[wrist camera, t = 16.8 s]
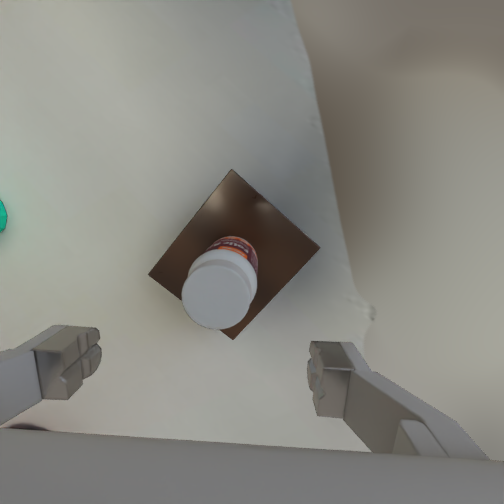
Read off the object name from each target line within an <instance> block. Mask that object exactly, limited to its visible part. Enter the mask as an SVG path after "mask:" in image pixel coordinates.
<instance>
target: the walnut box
mask: <svg viewBox="0 0 504 504" xmlns="http://www.w3.org/2000/svg"><path fill="white" fill-rule="evenodd" d="M228 236H235V237H239V238H242V239H244V240H246V241H247V242H248V243H249V244H250V245H251V246H252V247H253V248H254V250H255V252H256V255H257V260H258V270H257V290H256V294H255V296H254V298H253V300H252V302H251V303H250V306H249V309H248V311H247V313H246V315H245V316H244V318H243V319H242V320H241V321H240V322H238V323H237V324H236V325H234V326H232V327H229V328H226V329H219V330H220V331H222V332H223V333H224V334H225V335H227V336H228V337H229V338H231V339H232V340H234V339H235V338H236V337H237V335H238V334H239V333H240V332H241V331H242V330H243V329H244V328H245V327H246V326H247V325H248V324H249V323H250V322H251V321H252V320H253V319H254V318H255V316H256V315H257V314H258V313H259V312H260V311H261V310H262V309H263V308H264V307H265V306H266V305H267V304H268V303H269V302H270V301H271V300H272V299H273V298H274V296H275V295H276V294H277V293H278V292H279V291H280V290H281V289H282V288H283V287H284V286H285V285H286V284H287V283H288V282H289V281H290V280H291V279H292V278H293V276H294V275H295V274H296V273H297V272H298V271H299V270H300V269H301V268H302V267H303V266H304V265H305V264H306V263H307V262H308V261H309V260H310V259H311V257H312V256H313V255H314V254H315V253H316V252H317V251H318V250H319V249H320V247H319V246H318V245H317V244H316V243H315V242H314V241H313V240H311V239H310V238H309V237H308V236H307V235H306V234H305V233H303V232H302V231H301V230H300V229H299V228H298V227H297V226H296V225H294V224H293V223H292V222H291V221H290V220H289V219H288V218H287V217H285V216H284V215H283V214H282V213H281V212H280V211H279V210H278V209H276V208H275V207H274V206H273V205H272V204H271V203H270V202H268V201H267V200H266V199H265V198H264V197H263V196H262V195H261V194H259V193H258V192H257V191H256V190H255V189H254V188H253V187H252V186H250V185H249V184H248V183H247V182H246V181H245V180H244V179H243V178H241V177H240V176H239V175H238V174H237V173H236V172H235V171H233V170H232V169H231V170H230V171H229V173H228V174H227V175H226V176H225V178H224V179H223V180H222V182H221V183H220V184H219V185H218V187H217V188H216V189H215V190H214V192H213V193H212V194H211V195H210V197H209V198H208V199H207V200H206V202H205V203H204V204H203V206H202V207H201V208H200V209H199V211H198V212H197V213H196V214H195V216H194V217H193V218H192V219H191V221H190V222H189V223H188V224H187V226H186V227H185V228H184V230H183V231H182V232H181V233H180V235H179V236H178V237H177V238H176V240H175V241H174V242H173V243H172V245H171V246H170V247H169V248H168V250H167V251H166V252H165V254H164V255H163V256H162V257H161V259H160V260H159V261H158V262H157V264H156V265H155V266H154V267H153V269H152V270H151V271H150V272H149V274H148V275H149V276H150V277H152V278H153V279H154V280H155V281H157V282H158V283H159V284H161V285H162V286H163V287H164V288H166V289H167V290H168V291H170V292H171V293H172V294H174V295H175V296H176V297H177V298H179V299H180V300H181V301H182V288H183V285H184V283H185V281H186V279H187V278H188V273H189V270H190V268H191V266H192V264H193V262H194V261H195V260H196V259H197V258H198V257H199V256H200V255H201V254H202V253H204V252H205V251H206V250H207V249H208V248H209V247H210V246H211V245H212V244H213V243H214V242H215V241H217V240H219V239H221V238H223V237H228Z"/></svg>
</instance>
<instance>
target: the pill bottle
mask: <svg viewBox="0 0 504 504" xmlns="http://www.w3.org/2000/svg"><path fill="white" fill-rule="evenodd" d="M257 270H258V260H257V255H256V252H255V250H254V248H253V247H252V246H251V245H250V244H249V243H248V242H247V241H246V240H244V239H242V238H239V237H235V236H228V237H223V238H221V239H219V240H217V241H215V242H214V243H213V244H212V245H211V246H210V247H209V248H208V249H207V250H206V251H205V252H204V253H202V254H201V255H200V256H199V257H198V258H197V259H196V260H195V261H194V262H193V264H192V266H191V268H190V270H189V273H188V278H187V279H186V281H185V283H184V285H183V288H182V303H183V307H184V309H185V311H186V313H187V314H188V315H189V317H190V318H191V319H192V320H193V321H194V322H196V323H197V324H199V325H200V326H202V327H205V328H209V329H216V330H219V329H226V328H229V327H232V326H234V325H236V324H237V323H238V322H240V321H241V320H242V319H243V318H244V316H245V315H246V313H247V311H248V309H249V306H250V303H251V302H252V300H253V298H254V296H255V294H256V290H257Z"/></svg>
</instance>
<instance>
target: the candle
mask: <svg viewBox="0 0 504 504" xmlns="http://www.w3.org/2000/svg"><path fill="white" fill-rule="evenodd" d="M6 220H7V214H6V211H5V208H4V205H3V203H2V202H1V201H0V232H1V231H2V230H3V229H4V228H5V226H6Z"/></svg>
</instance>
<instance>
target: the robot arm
mask: <svg viewBox="0 0 504 504" xmlns="http://www.w3.org/2000/svg"><path fill="white" fill-rule="evenodd" d="M99 339H100V333H99V330H98V329H97V328H93V327H81V326H69V325H53V326H51V327H50V328H48V329H47V330H45V331H43V332H42V333H40V334H38V335H37V336H35V337H33V338H32V339H30V340H28V341H27V342H25V343H24V344H22V345H20V346H19V347H17V348H15V349H8V350H5V351H2V352H0V425H2V424H3V423H5V422H7V421H8V420H10V419H12V418H13V417H15V416H17V415H18V414H20V413H22V412H24V411H25V410H27V409H29V408H30V407H32V406H34V405H35V404H37V403H39V402H40V401H42V399H52V400H68V399H69V398H70V397H71V396H72V395H73V394H74V393H75V392H76V391H77V390H78V389H79V388H80V387H81V386H82V385H83V379H85V378H87V377H89V376H91V375H92V374H93V373H94V372H95V371H96V370H97V368H98V366H99V364H100V362H101V357H102V351H101V348H100V346H99V345H98V344H97V342H98V341H99ZM309 352H310V355H311V359H310V360H309V361H308V366H307V378H308V384H309V388H310V390H311V391H313V403H314V406H315V410H316V413H317V416H322V417H332V418H343V420H344V421H345V422H346V424H347V425H348V426H349V427H350V428H351V429H352V430H353V431H354V432H355V434H356V435H357V436H358V437H359V438H360V439H361V440H362V441H363V442H364V443H365V445H366V446H367V447H368V448H369V449H370V450H371V451H372V452H358V451H343V450H326V449H311V448H296V447H281V446H266V445H251V444H236V443H222V442H207V441H192V440H177V439H161V438H146V437H130V436H115V435H99V434H84V433H69V432H54V431H39V430H24V429H9V428H0V504H504V461H494V460H490V459H489V458H488V457H487V456H486V454H485V453H484V452H483V451H482V450H481V449H480V448H479V446H478V445H477V444H476V443H475V442H474V441H473V440H472V439H471V437H470V436H469V435H468V434H467V433H466V432H465V431H464V430H463V428H462V427H461V426H460V425H459V424H458V423H457V422H456V421H455V420H453V419H451V418H450V417H448V416H446V415H445V414H443V413H442V412H440V411H439V410H437V409H435V408H433V407H432V406H431V405H429V404H427V403H426V402H424V401H423V400H421V399H419V398H418V397H416V396H414V395H413V394H411V393H410V392H408V391H406V390H405V389H403V388H401V387H400V386H398V385H397V384H395V383H394V382H392V381H390V380H389V379H387V378H385V377H384V376H382V375H381V374H379V373H378V372H372V371H371V369H370V368H369V366H368V365H367V363H366V362H365V360H364V359H363V357H362V356H361V354H360V353H359V351H358V350H357V348H356V347H355V345H354V344H353V343H352V342H327V341H311V343H310V348H309Z"/></svg>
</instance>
